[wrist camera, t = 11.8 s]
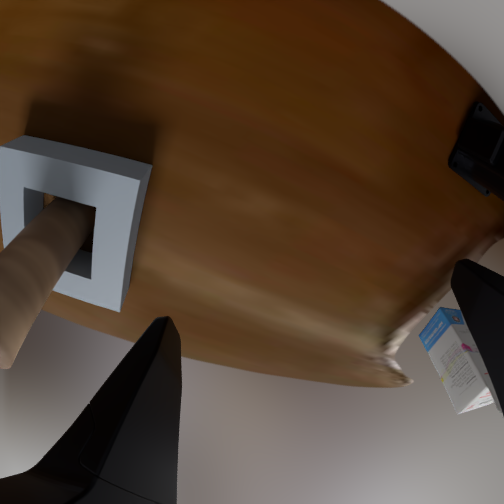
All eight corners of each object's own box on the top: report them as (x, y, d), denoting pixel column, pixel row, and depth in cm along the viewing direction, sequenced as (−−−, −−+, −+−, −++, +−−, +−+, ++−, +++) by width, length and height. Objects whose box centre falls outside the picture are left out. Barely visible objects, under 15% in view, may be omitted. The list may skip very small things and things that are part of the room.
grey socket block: (152, 165, 18) (140, 180, 16) (128, 287, 24) (119, 312, 21) (23, 135, 16) (0, 146, 13) (23, 253, 21) (8, 272, 19)
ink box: (416, 336, 31) (464, 440, 18) (439, 305, 28) (500, 411, 16) (455, 337, 33) (500, 423, 20) (476, 310, 30) (530, 397, 18)
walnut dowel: (86, 185, 19) (-22, 309, 8) (102, 233, 21) (25, 372, 10) (46, 196, 19) (-58, 310, 8) (63, 240, 21) (-17, 365, 10)
